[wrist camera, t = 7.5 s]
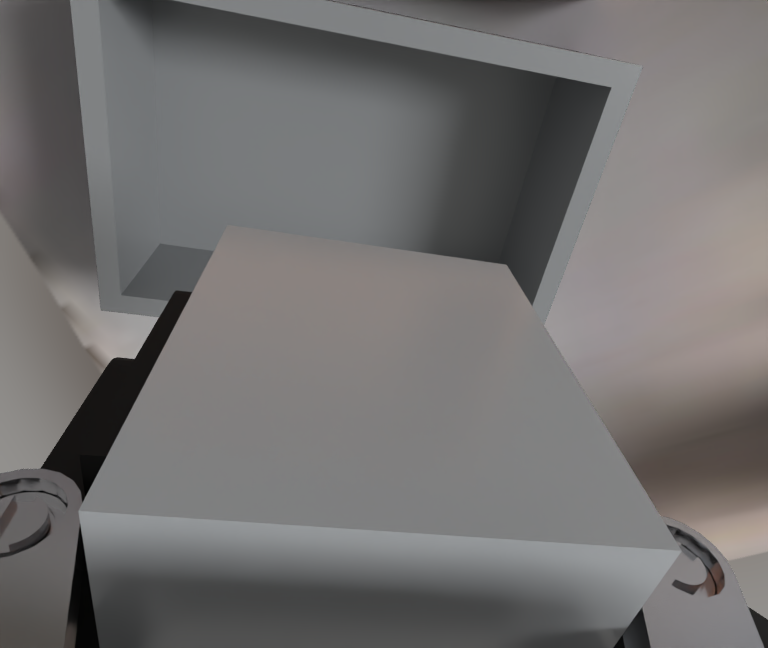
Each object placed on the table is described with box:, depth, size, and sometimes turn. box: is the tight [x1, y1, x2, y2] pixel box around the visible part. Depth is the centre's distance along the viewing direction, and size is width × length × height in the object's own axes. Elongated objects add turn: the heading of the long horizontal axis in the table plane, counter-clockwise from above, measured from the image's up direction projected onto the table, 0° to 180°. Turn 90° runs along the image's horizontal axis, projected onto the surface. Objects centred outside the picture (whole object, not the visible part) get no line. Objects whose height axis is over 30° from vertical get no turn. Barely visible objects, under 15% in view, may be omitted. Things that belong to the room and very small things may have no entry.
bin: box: [70, 0, 643, 325], centre depth 22 cm, size 12×18×6 cm, turn 80°
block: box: [78, 225, 682, 648], centre depth 8 cm, size 5×5×6 cm
